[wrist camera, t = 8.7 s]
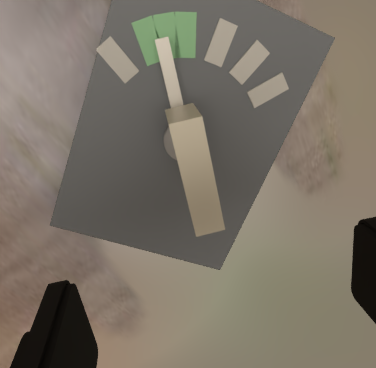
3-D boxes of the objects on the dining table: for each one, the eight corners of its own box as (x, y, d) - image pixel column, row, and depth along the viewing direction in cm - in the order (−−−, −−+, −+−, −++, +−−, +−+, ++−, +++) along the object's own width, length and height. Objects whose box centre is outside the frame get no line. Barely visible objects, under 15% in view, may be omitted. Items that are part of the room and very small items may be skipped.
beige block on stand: (211, 173, 29) (236, 226, 20) (174, 182, 29) (184, 239, 20) (182, 32, 24) (199, 29, 16) (138, 43, 24) (133, 45, 16)
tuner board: (217, 262, 34) (220, 271, 33) (51, 218, 30) (47, 226, 29) (327, 38, 27) (336, 38, 25) (127, -58, 23) (126, -63, 22)
